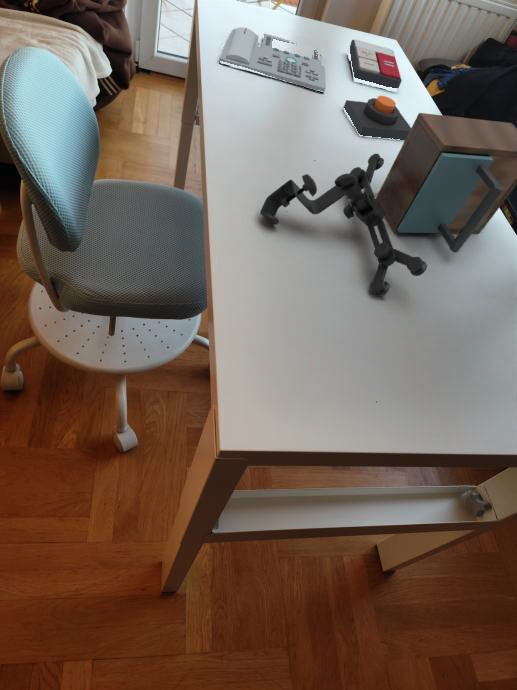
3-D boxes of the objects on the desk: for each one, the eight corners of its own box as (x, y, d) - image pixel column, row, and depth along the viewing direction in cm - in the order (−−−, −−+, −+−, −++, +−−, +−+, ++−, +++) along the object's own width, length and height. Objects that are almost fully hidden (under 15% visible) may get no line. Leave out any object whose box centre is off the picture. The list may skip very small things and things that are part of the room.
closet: (457, 203, 91) (511, 122, 79) (479, 233, 86) (540, 153, 74) (374, 200, 85) (419, 112, 73) (393, 232, 80) (444, 145, 68)
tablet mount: (328, 326, 74) (429, 270, 66) (269, 280, 65) (378, 208, 57) (303, 212, 90) (382, 156, 82) (253, 162, 81) (336, 93, 72)
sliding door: (441, 230, 83) (491, 156, 72) (459, 257, 79) (514, 184, 68) (396, 229, 80) (441, 152, 69) (413, 257, 76) (463, 181, 65)
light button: (387, 104, 101) (391, 96, 100) (395, 115, 99) (398, 107, 98) (370, 103, 100) (374, 94, 98) (378, 113, 98) (381, 105, 96)
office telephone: (220, 52, 100) (232, 17, 113) (218, 65, 102) (230, 29, 115) (327, 82, 103) (328, 45, 115) (323, 94, 105) (324, 56, 117)
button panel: (359, 66, 110) (353, 35, 118) (351, 84, 113) (346, 53, 122) (403, 78, 112) (394, 47, 120) (395, 96, 115) (387, 64, 124)
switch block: (390, 115, 107) (398, 97, 104) (409, 141, 101) (418, 123, 98) (342, 110, 103) (349, 91, 100) (359, 137, 98) (367, 118, 94)
